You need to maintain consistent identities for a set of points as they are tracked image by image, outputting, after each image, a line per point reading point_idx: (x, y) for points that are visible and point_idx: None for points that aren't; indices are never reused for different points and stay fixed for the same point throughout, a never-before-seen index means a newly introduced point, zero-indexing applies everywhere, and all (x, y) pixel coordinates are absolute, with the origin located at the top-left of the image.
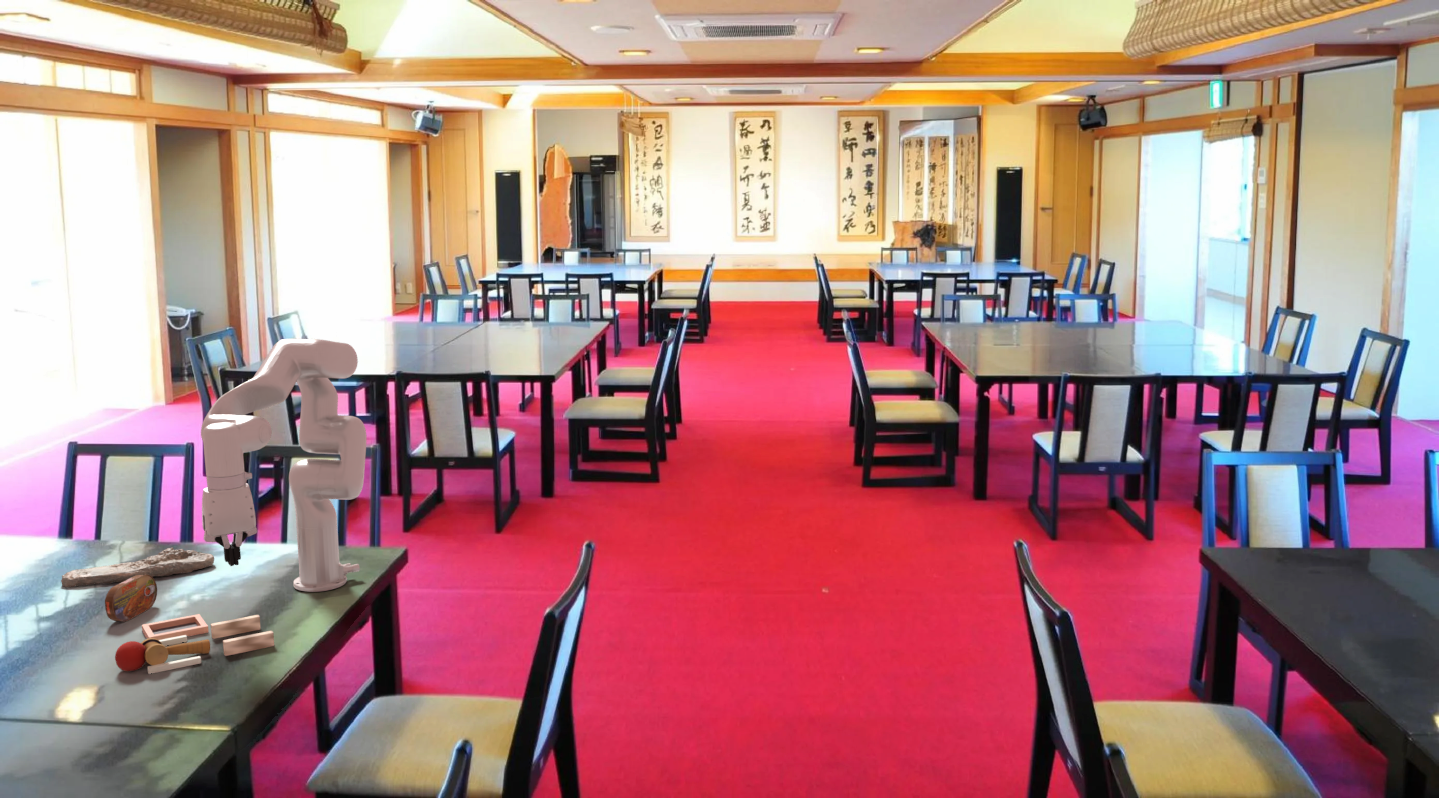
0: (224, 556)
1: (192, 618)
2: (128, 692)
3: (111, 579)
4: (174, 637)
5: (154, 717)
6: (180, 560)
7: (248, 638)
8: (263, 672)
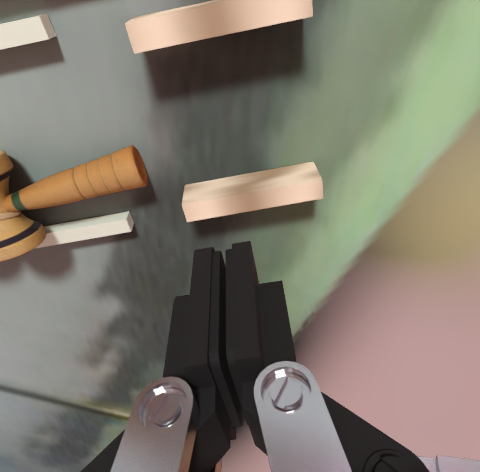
0: (173, 318)
1: None
2: (10, 310)
3: None
4: (3, 29)
5: (93, 392)
6: None
7: (252, 209)
8: None
